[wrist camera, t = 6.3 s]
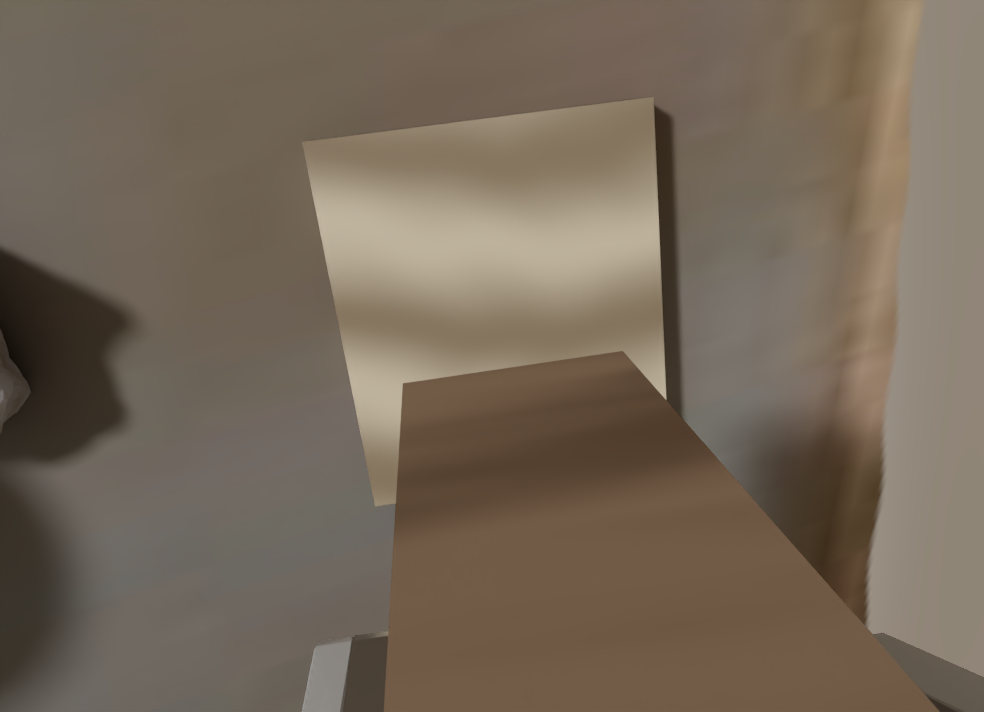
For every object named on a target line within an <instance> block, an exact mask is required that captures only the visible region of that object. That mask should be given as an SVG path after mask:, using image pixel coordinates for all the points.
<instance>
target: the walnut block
mask: <svg viewBox="0 0 984 712" xmlns="http://www.w3.org/2000/svg"><path fill="white" fill-rule="evenodd" d="M384 712H940V711H939V710H938V709H937V708H936V707H935V706H934V704H933V703H932V702H931V701H930V700H929V699H928V698H927V696H926V695H925V694H924V693H923V692H922V691H921V690H920V688H919V687H918V686H917V685H916V684H915V683H914V682H913V681H912V679H911V678H910V677H909V676H908V675H907V674H906V673H905V671H904V670H903V669H902V668H901V667H900V666H899V665H898V663H897V662H896V661H895V660H894V659H893V658H892V657H891V655H890V654H889V653H888V652H887V651H886V650H885V649H884V648H883V646H882V645H881V644H880V643H879V642H878V641H877V640H876V638H875V637H874V636H873V635H872V634H871V633H870V632H869V630H868V629H867V628H866V627H865V626H864V625H863V624H862V622H861V621H860V620H859V619H858V618H857V617H856V616H855V615H854V613H853V612H852V611H851V610H850V609H849V608H848V607H847V605H846V604H845V603H844V602H843V601H842V600H841V599H840V597H839V596H838V595H837V594H836V593H835V592H834V591H833V589H832V588H831V587H830V586H829V585H828V584H827V583H826V582H825V580H824V579H823V578H822V577H821V576H820V575H819V574H818V572H817V571H816V570H815V569H814V568H813V567H812V566H811V564H810V563H809V562H808V561H807V560H806V559H805V558H804V556H803V555H802V554H801V553H800V552H799V551H798V550H797V549H796V547H795V546H794V545H793V544H792V543H791V542H790V541H789V539H788V538H787V537H786V536H785V535H784V534H783V533H782V531H781V530H780V529H779V528H778V527H777V526H776V525H775V523H774V522H773V521H772V520H771V519H770V518H769V517H768V516H767V514H766V513H765V512H764V511H763V510H762V509H761V508H760V506H759V505H758V504H757V503H756V502H755V501H754V500H753V498H752V497H751V496H750V495H749V494H748V493H747V492H746V490H745V489H744V488H743V487H742V486H741V485H740V484H739V483H738V481H737V480H736V479H735V478H734V477H733V476H732V475H731V473H730V472H729V471H728V470H727V469H726V468H725V467H724V465H723V464H722V463H721V462H720V461H719V460H718V459H717V457H716V456H715V455H714V454H713V453H712V452H711V451H710V449H709V448H708V447H707V446H706V445H705V444H704V443H703V442H702V440H701V439H700V438H699V437H698V436H697V435H696V434H695V432H694V431H693V430H692V429H691V428H690V427H689V426H688V424H687V423H686V422H685V421H684V420H683V419H682V418H681V416H680V415H679V414H678V413H677V412H676V411H675V410H674V409H673V407H672V406H671V405H670V404H669V403H668V402H667V401H666V399H665V398H664V397H663V396H662V395H661V394H660V393H659V391H658V390H657V389H656V388H655V387H654V386H653V385H652V383H651V382H650V381H649V380H648V379H647V378H646V377H645V376H644V374H643V373H642V372H641V371H640V370H639V369H638V368H637V366H636V365H635V364H634V363H633V362H632V361H631V360H630V358H629V357H628V356H627V355H626V354H625V353H624V352H623V351H619V352H612V353H605V354H598V355H591V356H585V357H578V358H571V359H564V360H558V361H551V362H544V363H537V364H531V365H524V366H517V367H510V368H504V369H497V370H490V371H483V372H477V373H470V374H463V375H456V376H450V377H443V378H436V379H429V380H423V381H416V382H409V383H403V389H402V406H401V423H400V440H399V458H398V475H397V492H396V509H395V526H394V544H393V561H392V578H391V595H390V612H389V630H388V647H387V664H386V681H385V698H384Z"/></svg>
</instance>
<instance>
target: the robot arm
mask: <svg viewBox="0 0 984 712" xmlns="http://www.w3.org/2000/svg"><path fill="white" fill-rule="evenodd" d="M840 599H841V598H840ZM847 607H848V606H847ZM848 608H849V607H848ZM854 615H855V614H854ZM855 616H856V615H855ZM856 617H857V616H856ZM862 624H863V623H862ZM863 625H864V624H863ZM864 626H865V625H864ZM865 627H866V626H865ZM869 632H870V631H869ZM870 633H871V632H870ZM871 634H872V633H871ZM872 635H873V636H874V637H875V638H876V640H877V641H878V642H879V643H880V644H881V645H882V646H883V648H884V649H885V650H886V651H887V652H888V653H889V654H890V655H891V657H892V658H893V659H894V660H895V661H896V662H897V663H898V665H899V666H900V667H901V668H902V669H903V670H904V671H905V673H906V674H907V675H908V676H909V677H910V678H911V679H912V681H913V682H914V683H915V684H916V685H917V686H918V687H919V688H920V690H921V691H922V692H923V693H924V694H925V695H926V696H927V698H928V699H929V700H930V701H931V702H932V703H933V704H934V706H935V707H936V708H937V709H938V710H939V711H940V712H984V677H982V676H979V675H977V674H975V673H973V672H970V671H968V670H966V669H964V668H961V667H959V666H956V665H954V664H952V663H950V662H947V661H945V660H943V659H941V658H939V657H936V656H934V655H932V654H930V653H927V652H925V651H923V650H920V649H918V648H916V647H914V646H911V645H909V644H907V643H905V642H902V641H900V640H898V639H896V638H893V637H891V636H889V635H886V634H884V633H880V634H872ZM387 647H388V631H384V632H376V633H369V634H362V635H355V636H354V637H345V638H338V639H331V640H325V641H319V643H318V644H317V646H316V647H315V649H314V653H313V658H312V663H311V668H310V673H309V678H308V683H307V688H306V693H305V698H304V703H303V708H302V712H384V698H385V681H386V664H387Z"/></svg>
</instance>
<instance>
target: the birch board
mask: <svg viewBox="0 0 984 712" xmlns="http://www.w3.org/2000/svg"><path fill="white" fill-rule="evenodd" d="M302 144H303V149H304V154H305V159H306V164H307V169H308V174H309V179H310V184H311V189H312V194H313V199H314V204H315V209H316V214H317V219H318V224H319V229H320V234H321V239H322V243H323V248H324V253H325V258H326V263H327V268H328V273H329V278H330V283H331V288H332V293H333V298H334V303H335V308H336V313H337V318H338V323H339V328H340V333H341V338H342V343H343V348H344V353H345V358H346V363H347V368H348V373H349V378H350V383H351V388H352V393H353V398H354V403H355V408H356V413H357V418H358V423H359V428H360V433H361V438H362V443H363V448H364V453H365V458H366V463H367V468H368V473H369V478H370V483H371V488H372V493H373V498H374V503H375V506H381V505H387V504H394V503H396V492H397V475H398V458H399V440H400V423H401V406H402V389H403V383H409V382H416V381H423V380H429V379H436V378H443V377H450V376H456V375H463V374H470V373H477V372H483V371H490V370H497V369H504V368H510V367H517V366H524V365H531V364H537V363H544V362H551V361H558V360H564V359H571V358H578V357H585V356H591V355H598V354H605V353H612V352H619V351H623V352H624V353H625V354H626V355H627V356H628V357H629V358H630V360H631V361H632V362H633V363H634V364H635V365H636V366H637V368H638V369H639V370H640V371H641V372H642V373H643V374H644V376H645V377H646V378H647V379H648V380H649V381H650V382H651V383H652V385H653V386H654V387H655V388H656V389H657V390H658V391H659V393H660V394H661V395H662V396H663V397H664V398H665V399H666V378H665V354H664V331H663V307H662V284H661V260H660V237H659V213H658V190H657V166H656V143H655V119H654V97H647V98H638V99H630V100H622V101H615V102H607V103H599V104H591V105H584V106H576V107H568V108H560V109H553V110H545V111H537V112H529V113H521V114H514V115H506V116H498V117H490V118H483V119H475V120H467V121H459V122H452V123H444V124H436V125H428V126H421V127H413V128H405V129H397V130H389V131H382V132H374V133H366V134H358V135H351V136H343V137H335V138H327V139H320V140H312V141H305V142H302Z"/></svg>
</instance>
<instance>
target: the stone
mask: <svg viewBox="0 0 984 712" xmlns="http://www.w3.org/2000/svg"><path fill="white" fill-rule="evenodd" d="M30 393H31V391H30V388H29V385H28V382H27V381H26V380H25V379H24V377H23V376H22V374H21V372H20V370H19V369H18V367H17V366H16V364H15V363H14V362H13V361H12V360H11V359H10V358H9V353H8V349H7V346H6V342H5V340H4V337H3V334H2V331H1V329H0V434H1V432H2V429H3V424H4V422H5V421H6V420H7V419H8V418H10V417H11V416H12V415H14V414H16V413H17V412H18V410H19V409H20V408H21V406H22V405H23V404H24V402H25V401H26V399H27V398H28V396H29V395H30Z"/></svg>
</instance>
